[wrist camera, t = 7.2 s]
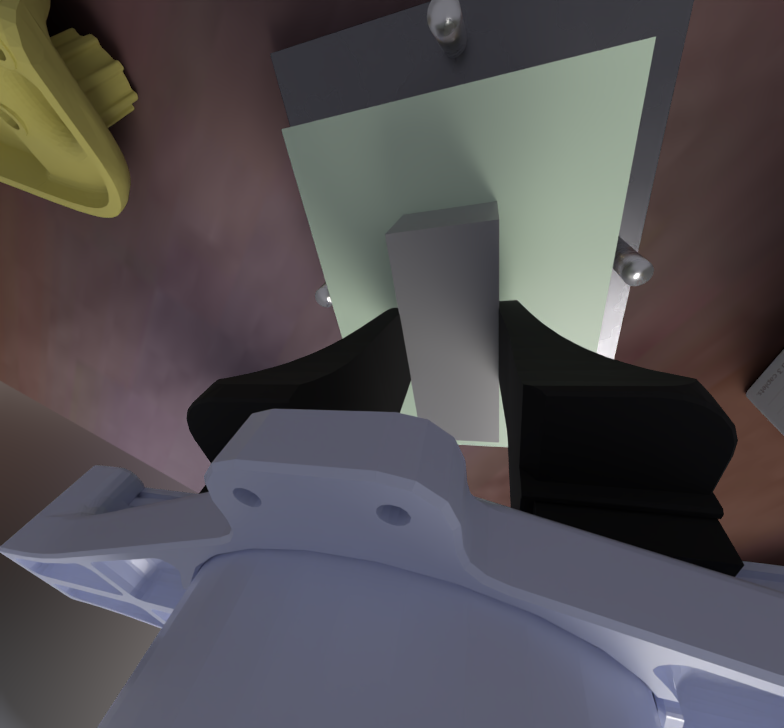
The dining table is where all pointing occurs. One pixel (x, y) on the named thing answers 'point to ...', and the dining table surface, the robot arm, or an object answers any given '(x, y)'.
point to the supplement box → (770, 393)
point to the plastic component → (60, 113)
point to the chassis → (492, 58)
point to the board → (479, 158)
